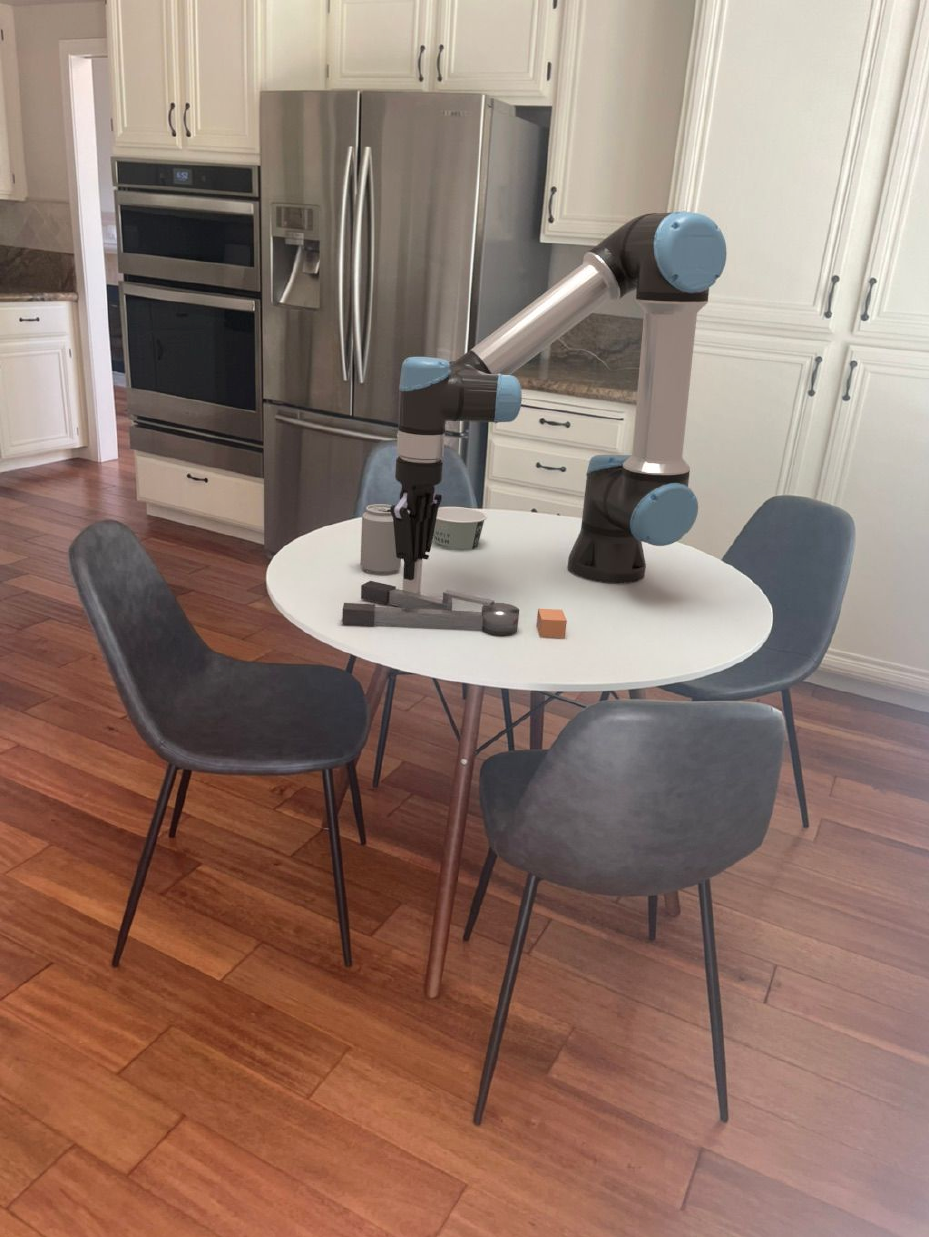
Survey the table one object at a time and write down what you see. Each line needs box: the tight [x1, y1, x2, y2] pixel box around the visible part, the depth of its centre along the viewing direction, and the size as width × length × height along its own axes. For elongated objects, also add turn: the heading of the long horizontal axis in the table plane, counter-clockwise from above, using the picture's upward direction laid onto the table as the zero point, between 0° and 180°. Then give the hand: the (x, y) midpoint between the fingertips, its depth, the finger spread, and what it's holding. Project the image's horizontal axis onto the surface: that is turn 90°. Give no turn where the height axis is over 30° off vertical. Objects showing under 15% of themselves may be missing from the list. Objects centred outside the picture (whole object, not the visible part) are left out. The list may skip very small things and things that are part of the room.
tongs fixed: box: [341, 602, 520, 637], centre depth 150 cm, size 28×6×4 cm, turn 93°
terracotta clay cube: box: [535, 608, 568, 639], centre depth 152 cm, size 4×5×3 cm
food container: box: [432, 506, 488, 551], centre depth 195 cm, size 12×12×6 cm
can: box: [359, 503, 402, 576], centre depth 174 cm, size 8×8×12 cm
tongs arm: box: [360, 580, 495, 610], centre depth 156 cm, size 24×3×4 cm, turn 64°
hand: (411, 595), depth 159 cm, fingers closed
